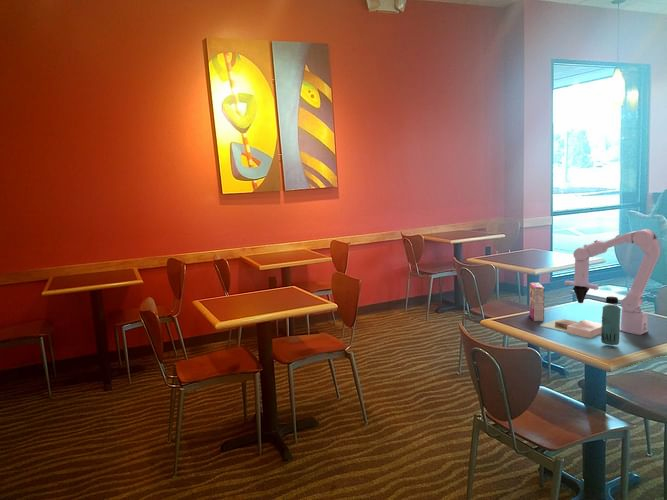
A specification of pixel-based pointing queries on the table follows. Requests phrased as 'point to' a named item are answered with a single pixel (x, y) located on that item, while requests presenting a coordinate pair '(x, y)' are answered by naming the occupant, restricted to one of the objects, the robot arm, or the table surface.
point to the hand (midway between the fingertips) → (580, 302)
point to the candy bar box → (536, 301)
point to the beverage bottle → (611, 322)
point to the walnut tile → (564, 323)
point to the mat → (553, 326)
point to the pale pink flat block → (585, 328)
